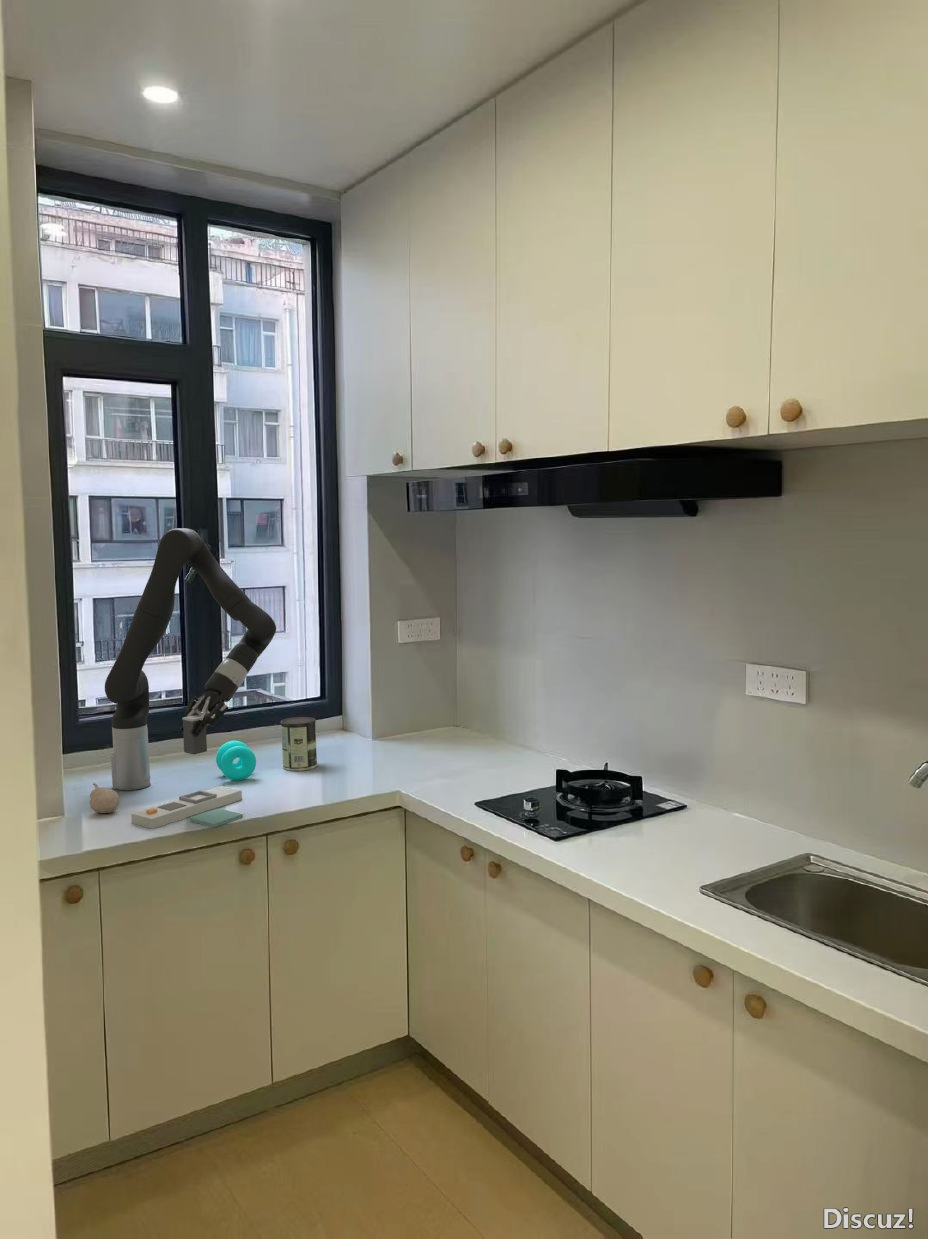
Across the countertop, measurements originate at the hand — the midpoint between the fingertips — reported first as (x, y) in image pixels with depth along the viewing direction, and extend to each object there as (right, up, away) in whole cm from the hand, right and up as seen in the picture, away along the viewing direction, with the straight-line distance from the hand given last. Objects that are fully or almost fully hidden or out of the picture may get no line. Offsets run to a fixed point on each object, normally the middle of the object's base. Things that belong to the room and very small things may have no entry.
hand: (188, 733), depth 238 cm
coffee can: (+21, -15, +42) cm, 50 cm away
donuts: (+5, -17, +32) cm, 36 cm away
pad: (+9, -20, -6) cm, 23 cm away
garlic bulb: (-21, -21, +1) cm, 29 cm away
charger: (+1, -5, +2) cm, 5 cm away
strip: (0, -20, +1) cm, 20 cm away
